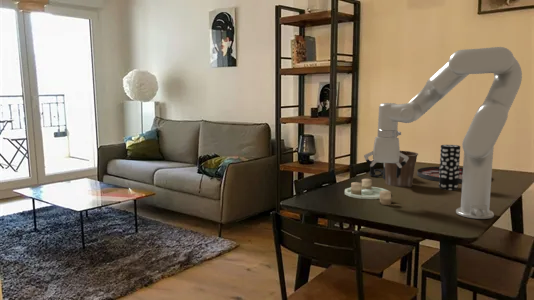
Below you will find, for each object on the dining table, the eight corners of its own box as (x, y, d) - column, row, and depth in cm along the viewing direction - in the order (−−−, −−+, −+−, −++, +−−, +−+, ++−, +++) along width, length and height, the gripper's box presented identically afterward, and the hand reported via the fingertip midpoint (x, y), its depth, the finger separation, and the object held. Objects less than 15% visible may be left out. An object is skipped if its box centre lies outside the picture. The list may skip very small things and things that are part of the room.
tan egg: (363, 195, 186) (363, 184, 185) (354, 196, 184) (354, 184, 184) (357, 193, 190) (358, 182, 189) (349, 194, 189) (349, 182, 188)
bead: (371, 192, 192) (372, 181, 191) (361, 191, 193) (361, 180, 192) (371, 189, 196) (371, 179, 195) (361, 189, 197) (361, 178, 196)
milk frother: (401, 180, 220) (402, 152, 218) (370, 180, 223) (370, 151, 221) (398, 175, 234) (399, 148, 232) (368, 174, 237) (369, 147, 234)
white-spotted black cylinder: (459, 190, 198) (462, 147, 195) (440, 189, 199) (442, 146, 197) (455, 186, 206) (458, 144, 203) (437, 185, 207) (439, 144, 205)
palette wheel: (417, 181, 219) (417, 176, 219) (416, 169, 252) (417, 165, 252) (494, 185, 208) (494, 180, 208) (483, 172, 241) (483, 168, 241)
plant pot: (423, 185, 208) (424, 152, 206) (405, 191, 197) (406, 156, 195) (393, 180, 220) (394, 149, 218) (375, 185, 209) (375, 152, 207)
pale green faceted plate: (391, 202, 178) (391, 196, 178) (344, 200, 182) (344, 194, 181) (387, 191, 197) (387, 186, 196) (344, 190, 200) (345, 184, 200)
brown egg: (393, 203, 174) (393, 191, 174) (384, 205, 172) (384, 193, 172) (386, 202, 178) (386, 190, 178) (377, 203, 176) (377, 191, 176)
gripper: (408, 134, 174) (406, 175, 176) (364, 132, 177) (362, 173, 179) (411, 136, 166) (408, 179, 169) (365, 134, 169) (363, 177, 172)
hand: (385, 176), depth 174 cm, fingers open, 9 cm apart
